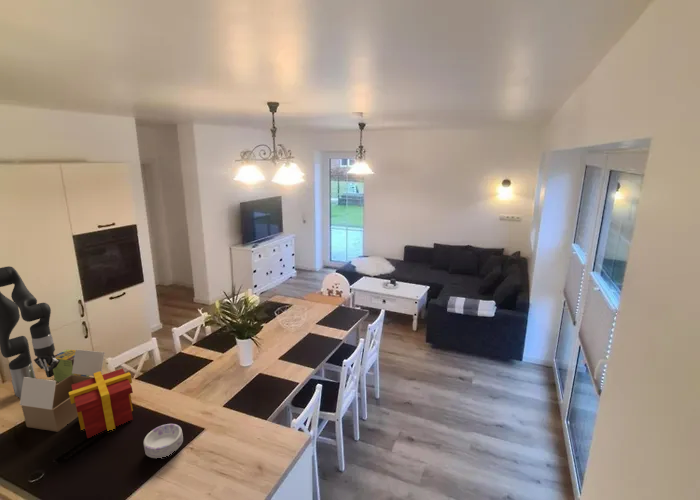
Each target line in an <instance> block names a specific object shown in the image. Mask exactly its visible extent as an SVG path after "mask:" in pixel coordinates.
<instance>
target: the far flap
mask: <svg viewBox="0 0 700 500" xmlns="http://www.w3.org/2000/svg"><path fill="white" fill-rule="evenodd" d="M75 350H76V351H75V357H74V363H73V369H72V374H81V375H89V377H94V374H93V373H96V372H99V371H101V373H102V372H103V366H104V360H105V354H106V353H105V351H96V350H95V351H94V350H88V349H86V350H85V349H80V348H79V349H75ZM102 374H103V373H102Z"/></svg>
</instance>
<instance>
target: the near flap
mask: <svg viewBox="0 0 700 500" xmlns="http://www.w3.org/2000/svg"><path fill="white" fill-rule="evenodd" d="M56 384H57V382H56V381H55V380H52V379H51V380H50V379H44V378H29V377H24V378H23V385H22V392H21V398H19V400H20V401H19V406H21V405H23V406H30V407H37V408H44V409H52V408H53V401H54V393H55V386H56Z"/></svg>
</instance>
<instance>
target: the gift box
mask: <svg viewBox="0 0 700 500" xmlns="http://www.w3.org/2000/svg"><path fill="white" fill-rule="evenodd" d="M93 374H94V376H93V377H94V378H91V379H88V380H85V381H82V382H78V383H75V384H72V385H71V386H72V390H73V391H70V392H69V397H70V401H71V404H73V403H75V404H76V409H77V414H78V417H77V418H78V423H79V426H80V431H81V430H83V429H85V430H83V431H85V433H86V438H87V439H89V438H92V436H93V437H95V436H97V435H99V434H98V433H100V432H102V431H104V430H106V429H107V431H109V430H112V431H114V430H113V429H115V430H116V428H117V427H120V426H122V425H125V424H126V422H127V423H129V422H128V421H130V420H132V421H134V417H133V412H134V409H133V402H132V396H131V394H133V393H134V392H133V386H132V385H131V384H132V383H133V381H132V374H131V373H130V371H129V372H125V370H124V368H120V369H117V370H113V371H110V372H108V373H104V374H103V373H101V371H99V372H96V373H93ZM130 422H131V421H130ZM124 423H125V424H124ZM121 424H122V425H121ZM119 425H120V426H119ZM116 426H117V427H116ZM107 431H106V432H107ZM102 433H103V432H102ZM96 434H97V435H96ZM100 434H101V433H100ZM94 435H95V436H94Z"/></svg>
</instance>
